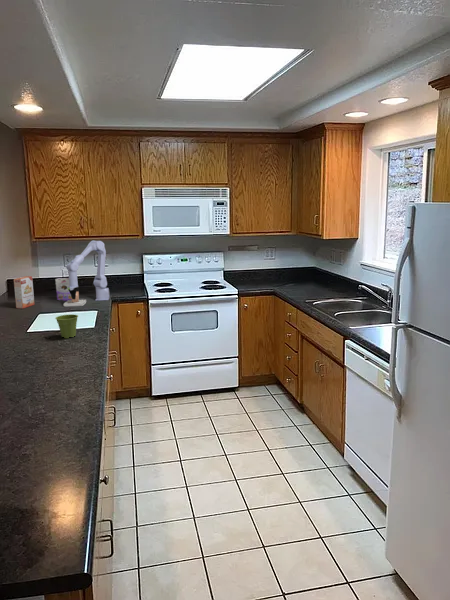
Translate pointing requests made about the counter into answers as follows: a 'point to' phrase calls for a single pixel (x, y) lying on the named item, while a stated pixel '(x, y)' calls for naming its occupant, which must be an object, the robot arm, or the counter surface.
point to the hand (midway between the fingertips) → (74, 298)
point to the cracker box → (24, 292)
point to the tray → (74, 303)
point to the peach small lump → (76, 297)
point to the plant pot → (67, 325)
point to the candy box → (63, 289)
